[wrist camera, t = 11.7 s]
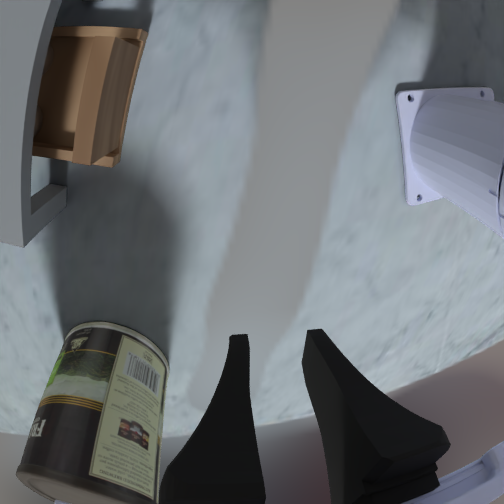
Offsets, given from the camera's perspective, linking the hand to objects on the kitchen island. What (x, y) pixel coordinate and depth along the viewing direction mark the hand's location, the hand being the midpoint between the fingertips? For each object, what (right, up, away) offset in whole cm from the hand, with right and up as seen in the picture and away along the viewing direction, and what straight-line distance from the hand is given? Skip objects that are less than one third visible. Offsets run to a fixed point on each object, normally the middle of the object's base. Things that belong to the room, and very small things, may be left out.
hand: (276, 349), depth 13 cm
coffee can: (-13, -6, +13) cm, 20 cm away
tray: (-12, +14, +2) cm, 19 cm away
